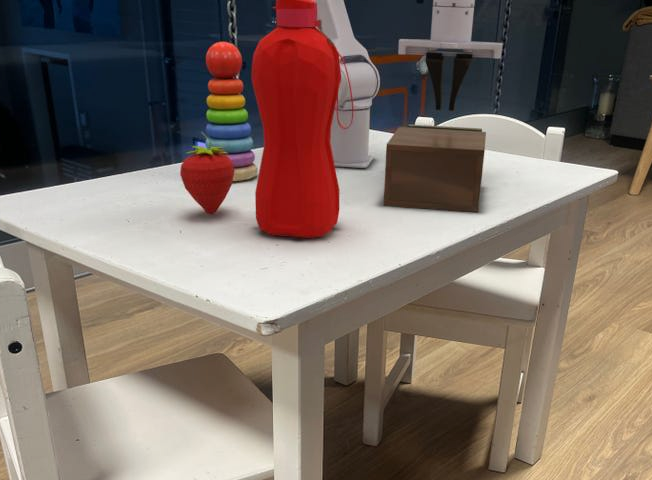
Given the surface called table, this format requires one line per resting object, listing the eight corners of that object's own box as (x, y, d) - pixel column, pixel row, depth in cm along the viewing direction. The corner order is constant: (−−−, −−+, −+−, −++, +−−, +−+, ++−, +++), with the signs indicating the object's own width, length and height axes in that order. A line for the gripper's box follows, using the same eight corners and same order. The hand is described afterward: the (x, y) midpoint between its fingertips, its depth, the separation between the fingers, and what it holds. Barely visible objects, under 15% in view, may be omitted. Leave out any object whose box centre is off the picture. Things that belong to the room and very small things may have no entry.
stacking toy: (267, 174, 111) (263, 42, 103) (238, 185, 105) (232, 45, 96) (224, 168, 114) (217, 39, 106) (193, 178, 108) (183, 41, 99)
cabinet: (395, 182, 109) (398, 126, 105) (479, 188, 107) (486, 131, 104) (383, 205, 97) (386, 143, 94) (477, 212, 95) (484, 150, 92)
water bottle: (341, 245, 82) (346, -2, 70) (249, 236, 84) (239, -6, 72) (357, 222, 90) (364, -3, 78) (272, 215, 92) (267, -6, 80)
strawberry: (172, 217, 90) (164, 134, 85) (210, 204, 95) (205, 125, 91) (210, 225, 87) (204, 140, 83) (247, 211, 93) (243, 130, 88)
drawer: (409, 159, 120) (411, 119, 117) (478, 163, 118) (482, 123, 115) (396, 182, 105) (399, 138, 102) (475, 188, 103) (480, 143, 100)
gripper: (398, 5, 98) (392, 110, 104) (506, 9, 96) (494, 116, 102) (404, 4, 104) (398, 103, 110) (506, 8, 102) (494, 109, 108)
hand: (445, 109), depth 106 cm, fingers closed
